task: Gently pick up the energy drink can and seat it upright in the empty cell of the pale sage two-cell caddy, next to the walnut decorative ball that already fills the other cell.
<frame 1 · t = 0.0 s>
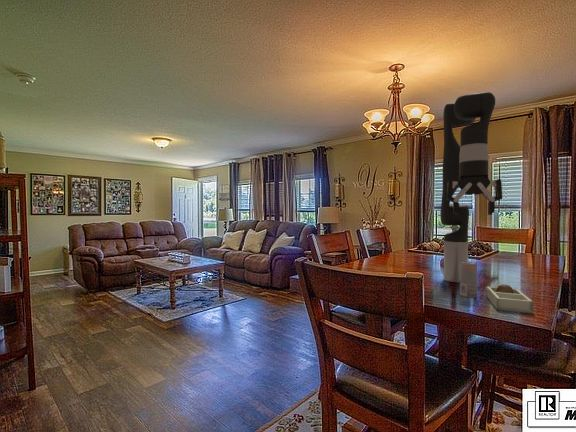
hand: (473, 214, 94), 29 cm above the table, fingers open, 8 cm apart
walnut ball: (504, 298, 105), point 1 cm above the table, touching caddy
energy drink: (468, 296, 111), on the table
caddy: (507, 304, 101), on the table
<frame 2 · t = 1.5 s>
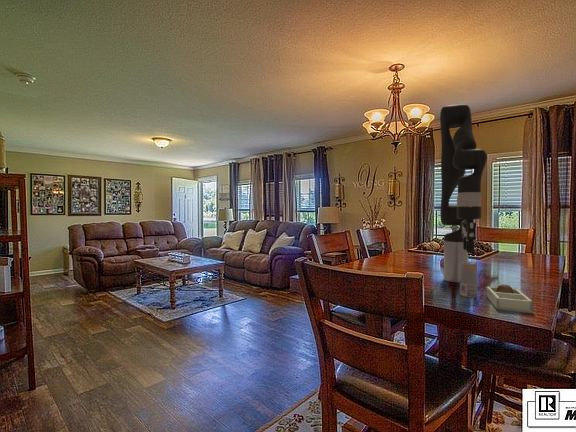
hand: (468, 251, 111), 16 cm above the table, fingers open, 8 cm apart
nothing on the table moved.
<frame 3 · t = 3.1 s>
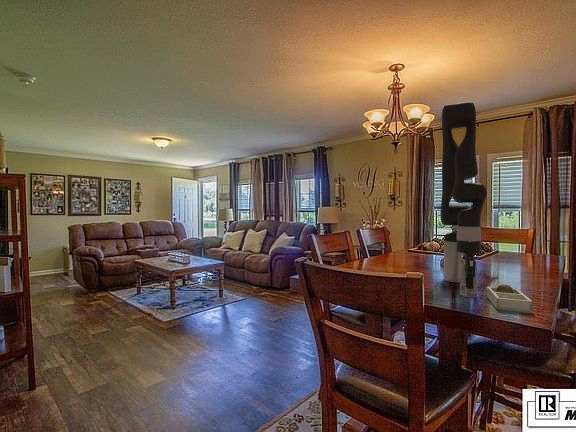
hand: (468, 286, 111), 3 cm above the table, fingers closed on energy drink, 5 cm apart
energy drink: (468, 296, 111), on the table, touching gripper
everything else where it was.
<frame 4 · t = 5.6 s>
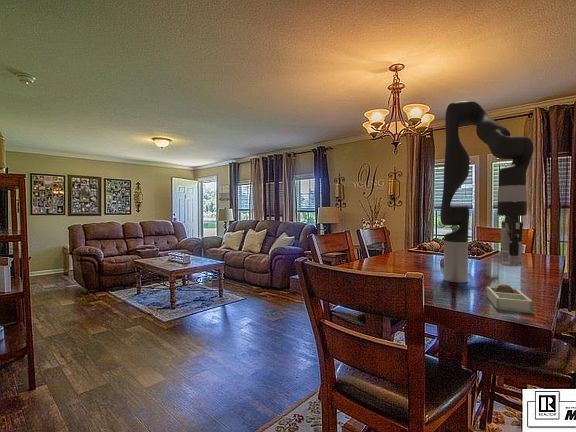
hand: (511, 254, 98), 17 cm above the table, fingers closed on energy drink, 5 cm apart
energy drink: (510, 265, 98), point 13 cm above the table, touching gripper
everything else where it was.
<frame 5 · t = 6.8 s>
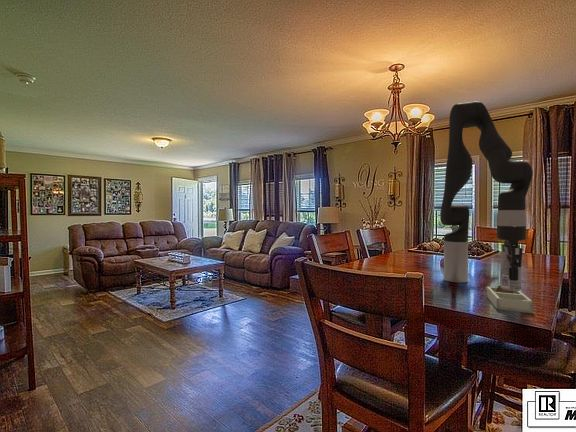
hand: (510, 278, 98), 9 cm above the table, fingers closed on energy drink, 5 cm apart
energy drink: (510, 289, 98), point 6 cm above the table, touching gripper
everything else where it was.
when the fingers open (6 cm above the table, at t = 8.0 s): energy drink drops 2 cm, resting on caddy.
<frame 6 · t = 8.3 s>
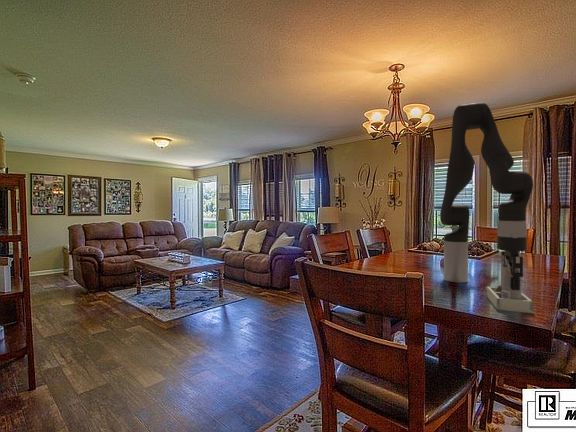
hand: (511, 286, 98), 7 cm above the table, fingers open, 8 cm apart
energy drink: (510, 305, 98), point 1 cm above the table, touching caddy
everything else where it was.
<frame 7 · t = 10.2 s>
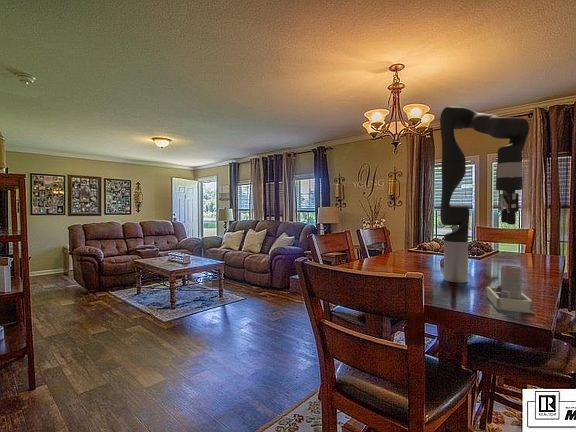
hand: (508, 223, 108), 26 cm above the table, fingers open, 8 cm apart
nothing on the table moved.
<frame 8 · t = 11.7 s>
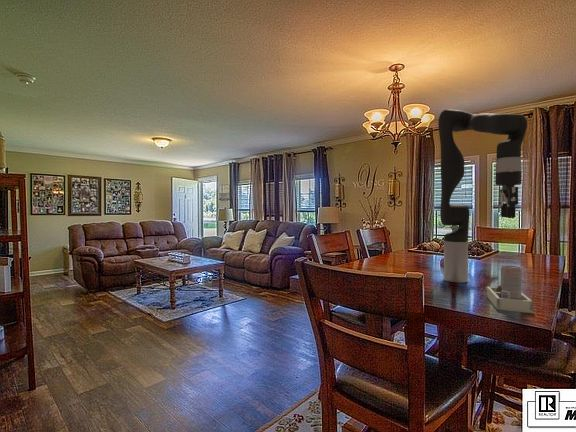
hand: (507, 217, 109), 28 cm above the table, fingers open, 8 cm apart
nothing on the table moved.
at the end: energy drink 0.3 cm from the target spot on the caddy, point 0.6 cm above the caddy's base; energy drink tilted 0°; the gripper is holding nothing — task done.
